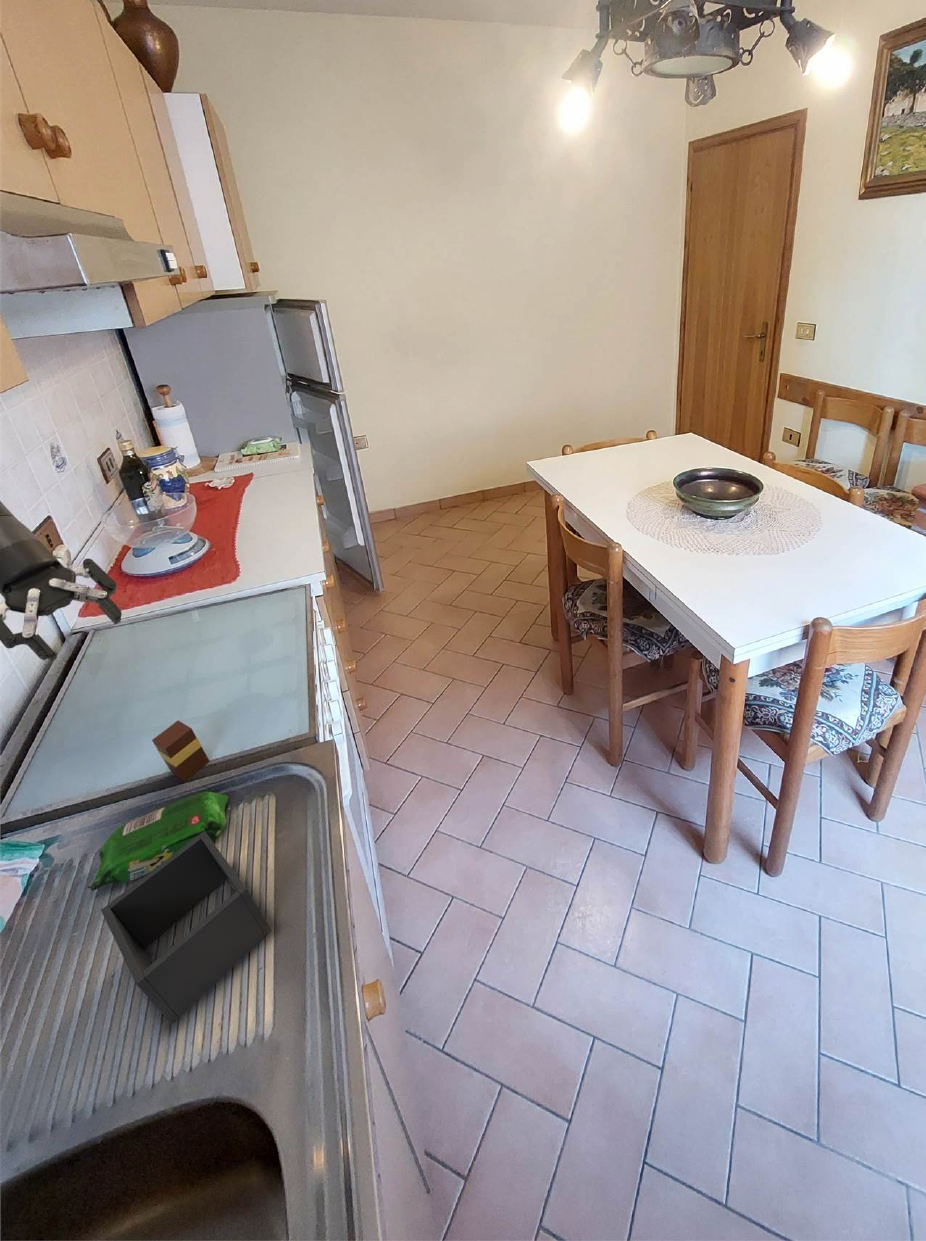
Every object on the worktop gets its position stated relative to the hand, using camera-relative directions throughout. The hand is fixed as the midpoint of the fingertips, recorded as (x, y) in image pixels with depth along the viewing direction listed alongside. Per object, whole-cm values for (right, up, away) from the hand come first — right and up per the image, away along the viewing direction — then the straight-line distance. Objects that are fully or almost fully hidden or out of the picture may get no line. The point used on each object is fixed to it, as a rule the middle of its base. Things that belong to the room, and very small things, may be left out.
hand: (87, 639), depth 83 cm
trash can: (+27, -32, -16) cm, 45 cm away
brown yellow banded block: (+12, -21, +5) cm, 25 cm away
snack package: (+15, -27, -5) cm, 32 cm away
